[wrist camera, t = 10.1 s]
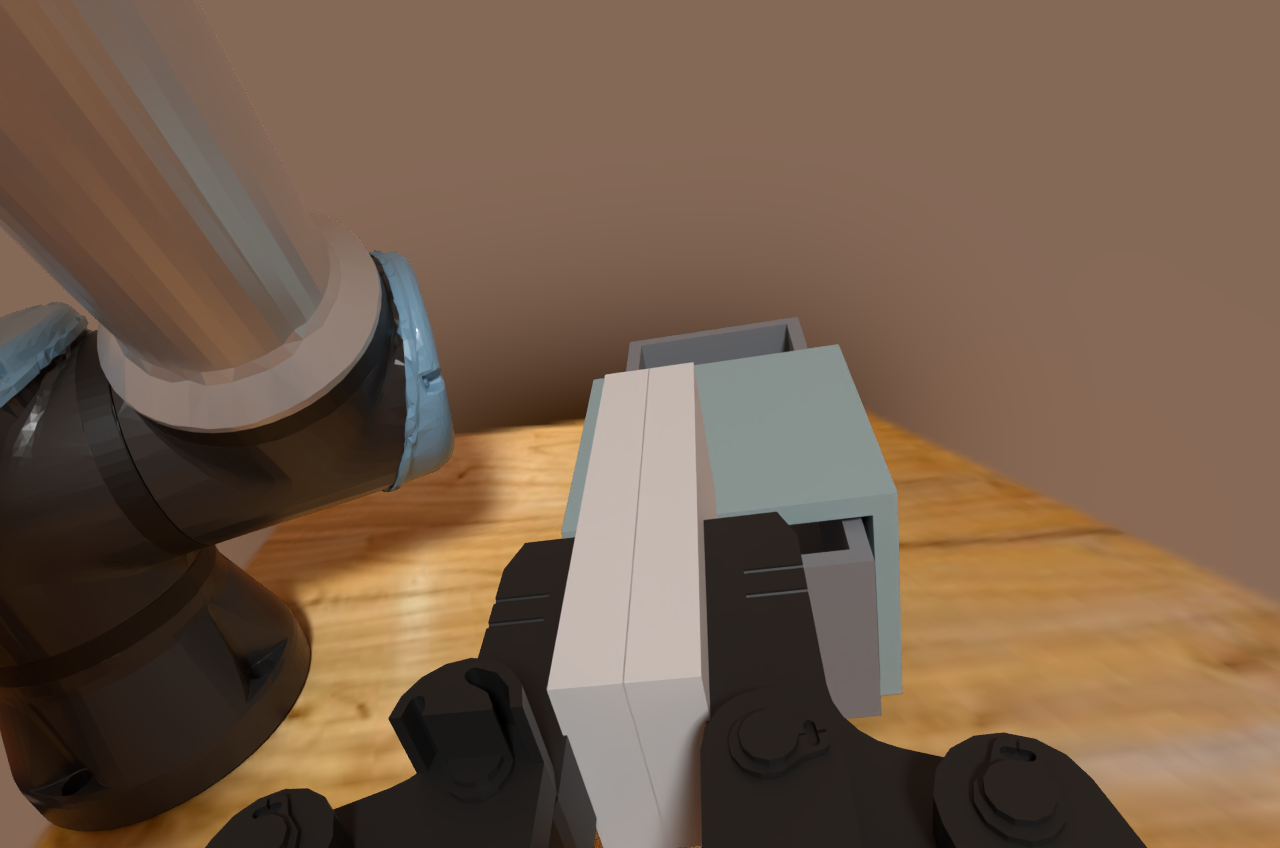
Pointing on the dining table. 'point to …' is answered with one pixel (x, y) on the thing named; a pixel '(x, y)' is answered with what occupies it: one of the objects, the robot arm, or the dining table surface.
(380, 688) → the dining table surface
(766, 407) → the sleeve
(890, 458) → the dining table surface
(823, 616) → the tray
